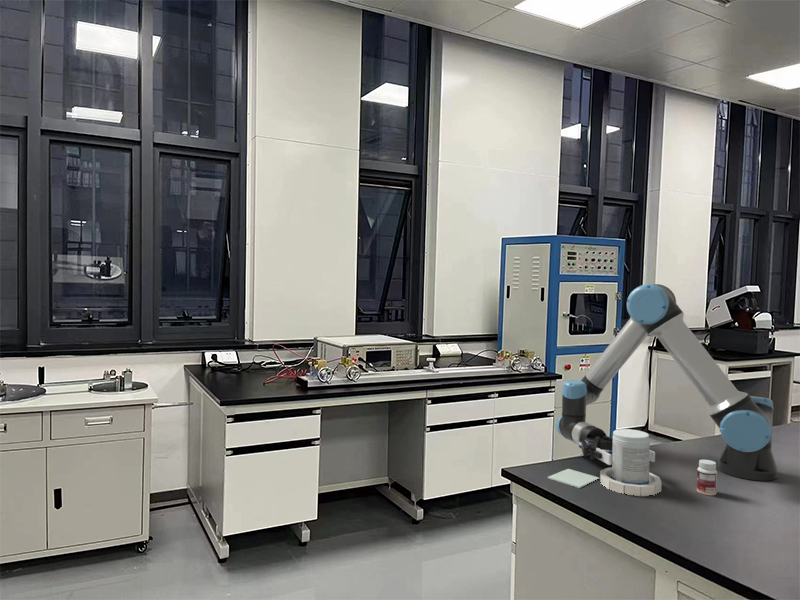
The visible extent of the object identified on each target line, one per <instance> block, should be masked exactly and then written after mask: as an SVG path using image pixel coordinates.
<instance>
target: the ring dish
mask: <svg viewBox="0 0 800 600" xmlns="http://www.w3.org/2000/svg"><path fill="white" fill-rule="evenodd" d="M611 477H612V466H611V467H606V468H604V469H601V470H600V473H599V482H601V483H600V485H601V484H602V485H603V487H604V486H605V487H606V489H607V490H609V489H610V490H609V491H611V490H612V492H614V491H615V492H614V493H618V494H621V493H622V494H621V495H625V494H627V495H626V496H633V495H634V496H636V497H650V496H649V495H653V496H656V495H658V494H660V493H662V485H663V484H662V480H661V477H660V476H658V475H656V474H654V473H652V472H649V483H650V484H645V485H635V484H627V483H622V482H619V481H615V480H613V479H612V478H611ZM602 485H601V486H602ZM605 487H604V488H605ZM659 492H660V493H659ZM624 493H625V494H624ZM657 493H658V494H657ZM655 494H656V495H655Z"/></svg>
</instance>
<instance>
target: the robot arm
mask: <svg viewBox="0 0 800 600" xmlns="http://www.w3.org/2000/svg"><path fill="white" fill-rule="evenodd" d="M676 298H677V297H676V296H675V294H674V292H673V291H672V290H671V289H670V288H669V287H668V286H666V285H663V284H657V283H655V284H654V283H645V284H641V285H640V286H637V287H636V288H634V289H633V290H632V291H631V292H630V294H629V295H628V297H627V299H626V309H627V310H626V311H627V313H628V314H629V316H630V318H629V319H628V321H626V323H625V324H624V325H623V326H622V328H621V329H620V331H619V332H618V333H617V334H616V335H615V337H614V339H612V340H611V342H610V343H609V345H608V346H607V347H605V350H603V352H602V353H601V355H600V356H599V357H598V358H597V359H596V361H595V362H594V364H593V365H592V366H591V367H590V369H589V370H588V371H587V372H586V373H585V375H584V377H582V379H581V380H573V379H572V380H571V379H570V380H565V381H564V382H563V384H562V391H561V395H562V400H561V401H562V403H561V405H562V406H561V409H562V410H561V415H560V416H559V417H558V418H557V421H556V423H555V427H556V431H557V433H559V435H561V436H562V437H563V438H564V439H566V440H569V441H571V442H573V443H574V444H577V445H578V448H580V449H581V452H582V455H583V457H584V458H587V457H590V458H589V459H590V460H591V461H592V460H593V461H594V460H595V458H596V459H598V460H599V461H601V462H603V463H605V464H606V465H608V466H612V453H609V452H607V451H612V447H613V437H610V436H608V435H607V434H606V432H605V431H604V430H603V429H602V428H599V427H597V426H595V425H594V424H591V423H589V422H586V419H587V418H586V416H587V406H588V405H590V404H592V403H594V402H596V401H597V400H598V399H599V398H600V396H601V393H602V392H603V390H604V389H605V388H606V387H607V386H608V384H609V383H610V382H611V381H612V380H613V378H614V377H616V375H617V374H618V372H619V371H620V370H621V368H622V367H623V366H624V365H625V364H626V363H627V361H628V360H629V359H630V358H631V356H632V355H633V354H634V353H635V352H636V350H637V349H638V348H639V347H640V346H641V344H642V343H643V342H644V341H645V339H646V338H647V337H648V336H652V337H656V338H657V339H658V340H659V342H660V343H661V345H662V346H663V347H664V349H666V351H667V352H668V353H669V356H671V357H672V359H673V360H674V361H675V363H676V364H677V366H678V367H679V368H680V369H681V370H682V371H683V373H684V374H685V376H686V377H687V378H688V380H689V381H690V382H691V383H692V386H694V388H695V389H696V390H697V392H698V393H699V394H700V396H701V397H702V398H703V399H704V400H705V402H706V403H707V405H708V406H709V411H708V415H709V416H710V418H711V419H712V421H713V422H714V424H716V426H717V427H718V429H719V432H720V435H721V438H722V440H723V441H724V442H725V445H724V446H723V449H722V451H721V454H720V456H719V459H718V462H717V463H718V464H717V466H718V469H719V470H720V471H721V472H722V473H725V474H727V475H729V476H732V477H736V478H741V479H745V480H751V481H761V482H762V481H765V482H766V481H767V482H768V481H774V480H777V479H778V473H779V472H778V470H779V469H778V466H777V464H776V463H777V462H776V459H775V456H774V454H773V452H772V450H773V449H772V441H773V416H774V410H775V408H774V402H773V400H772V399H771V398H767V397H763V396H762V397H761V396H753V395H750V394H748V392H743V391H739V390H738V389H737V388H736V387H735V385H734V384H733V382H732V381H731V380H730V379H729V377H728V376H727V375H726V373H725V372H724V371H723V370H722V369H721V367H720V366H719V364H718V363H717V361H716V360H714V358H713V357H712V356H711V355H710V353H709V352H708V351H707V349H706V348H705V347H704V345H703V344H702V343H701V342H700V340H699V339H698V338H697V337H696V335H695V334H694V333H693V331H692V330H691V329H690V328H689V326H688V325H687V324H686V323H685V322H684V317H685V316H684V315H685V313H684V312H683V310H682V309H681V307H679V305H678V304H677V299H676ZM649 462H651V463H655V462H656V452H655V451H653V450H651V449H650V456H649Z"/></svg>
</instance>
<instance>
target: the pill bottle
mask: <svg viewBox="0 0 800 600" xmlns="http://www.w3.org/2000/svg"><path fill="white" fill-rule="evenodd" d="M716 468H717V463H716V461H714V460H710V459H699V461H698V467H697V469H696V472H697V475H696V477H697V478H696V492H697V493H699V494H702V495H704V496H716V495H717V491H718V486H717V485H718V470H717V469H716Z"/></svg>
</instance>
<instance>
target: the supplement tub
mask: <svg viewBox="0 0 800 600" xmlns="http://www.w3.org/2000/svg"><path fill="white" fill-rule="evenodd" d="M612 438H613V447H612V450H611V452H612V453H611V455H612V465H611V467H612V478H611V479H613V480H615V481H619V482H622V483H627V484H635V485H645V484H649V473H650V461H649V456H650V450H651V448H650V442H651V441H650V434H649V433H648V432H645V431H642V430H639V429H638V430H637V429H629V428H620V429H616V430H614V431H613V432H612Z"/></svg>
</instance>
